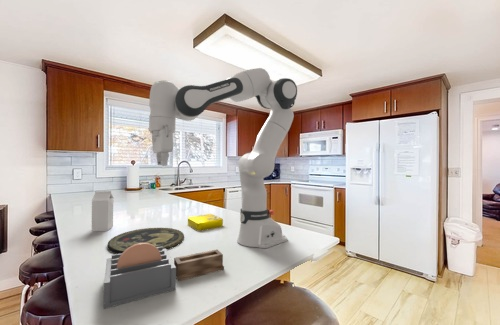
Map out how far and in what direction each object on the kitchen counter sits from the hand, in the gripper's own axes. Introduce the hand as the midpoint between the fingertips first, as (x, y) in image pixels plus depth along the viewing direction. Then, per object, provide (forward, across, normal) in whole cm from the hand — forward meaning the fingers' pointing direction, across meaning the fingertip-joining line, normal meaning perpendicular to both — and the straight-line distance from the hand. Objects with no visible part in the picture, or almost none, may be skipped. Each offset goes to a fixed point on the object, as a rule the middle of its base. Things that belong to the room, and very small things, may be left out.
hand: (161, 165), depth 81 cm
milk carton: (+33, +48, +20) cm, 62 cm away
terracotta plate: (+27, -18, +8) cm, 33 cm away
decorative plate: (+34, +20, +2) cm, 39 cm away
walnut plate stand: (+33, -16, -9) cm, 38 cm away
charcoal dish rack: (+33, -16, +8) cm, 38 cm away
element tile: (+34, +31, -28) cm, 54 cm away
